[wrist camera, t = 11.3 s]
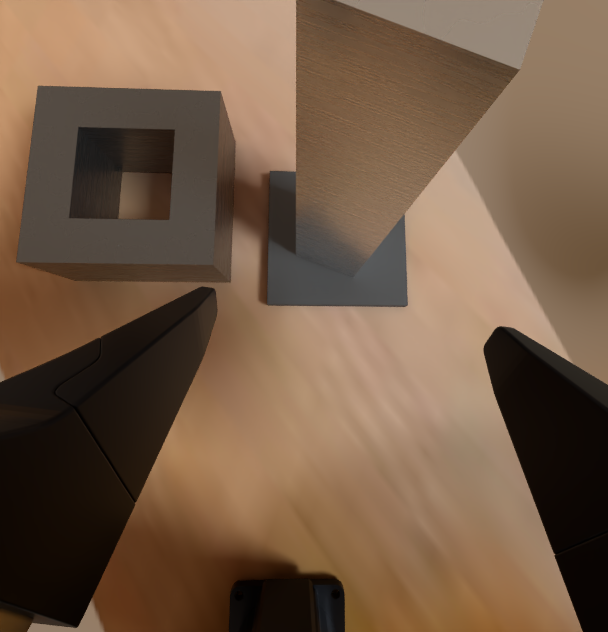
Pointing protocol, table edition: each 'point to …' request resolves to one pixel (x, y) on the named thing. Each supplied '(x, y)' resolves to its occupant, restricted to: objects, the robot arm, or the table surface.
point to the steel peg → (389, 107)
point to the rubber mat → (320, 281)
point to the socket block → (105, 185)
